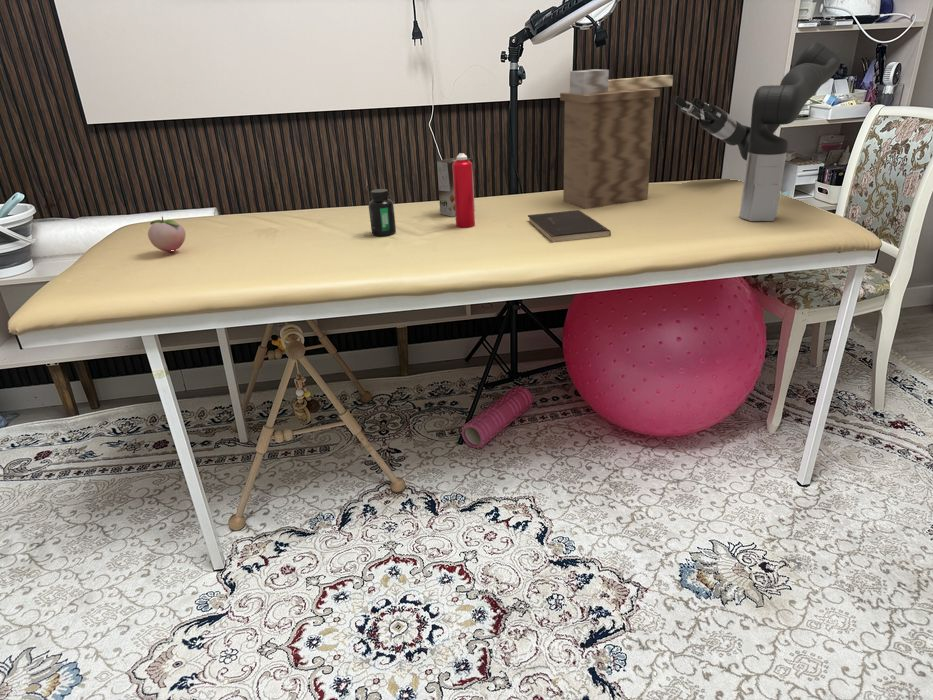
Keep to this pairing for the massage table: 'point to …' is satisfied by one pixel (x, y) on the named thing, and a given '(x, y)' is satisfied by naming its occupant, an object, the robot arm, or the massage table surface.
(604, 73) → the bar
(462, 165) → the bottle
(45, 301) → the massage table surface
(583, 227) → the hardcover book
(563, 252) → the massage table surface
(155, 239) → the decorative fruit
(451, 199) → the coffee box
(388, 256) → the massage table surface
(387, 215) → the supplement bottle
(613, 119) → the plinth
